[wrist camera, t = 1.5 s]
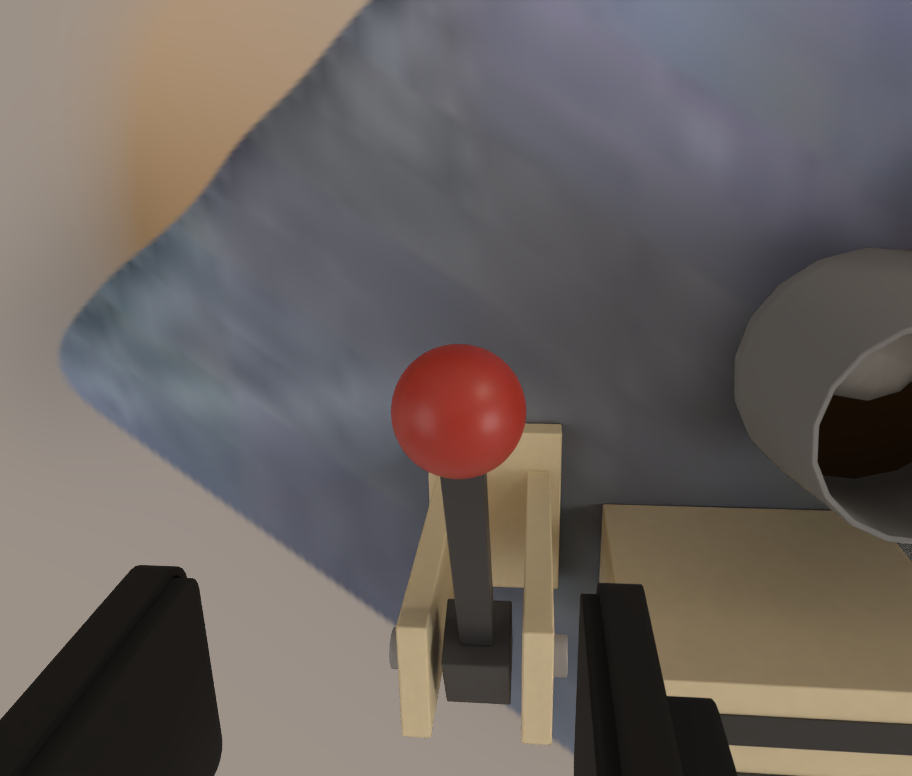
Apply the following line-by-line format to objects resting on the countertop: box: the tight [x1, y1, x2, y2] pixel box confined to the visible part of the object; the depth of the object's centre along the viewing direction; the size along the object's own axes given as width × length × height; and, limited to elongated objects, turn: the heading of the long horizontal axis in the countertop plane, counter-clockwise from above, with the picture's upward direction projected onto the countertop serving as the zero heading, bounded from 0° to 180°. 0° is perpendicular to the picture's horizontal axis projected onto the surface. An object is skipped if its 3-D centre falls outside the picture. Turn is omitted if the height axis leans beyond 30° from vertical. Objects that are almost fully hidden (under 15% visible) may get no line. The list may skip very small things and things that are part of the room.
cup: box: [734, 247, 912, 544], centre depth 29 cm, size 10×9×10 cm
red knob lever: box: [391, 344, 526, 704], centre depth 23 cm, size 15×3×3 cm, turn 2°
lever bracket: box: [389, 424, 568, 745], centre depth 32 cm, size 8×6×13 cm
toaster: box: [599, 504, 912, 776], centre depth 32 cm, size 6×12×12 cm, turn 91°
